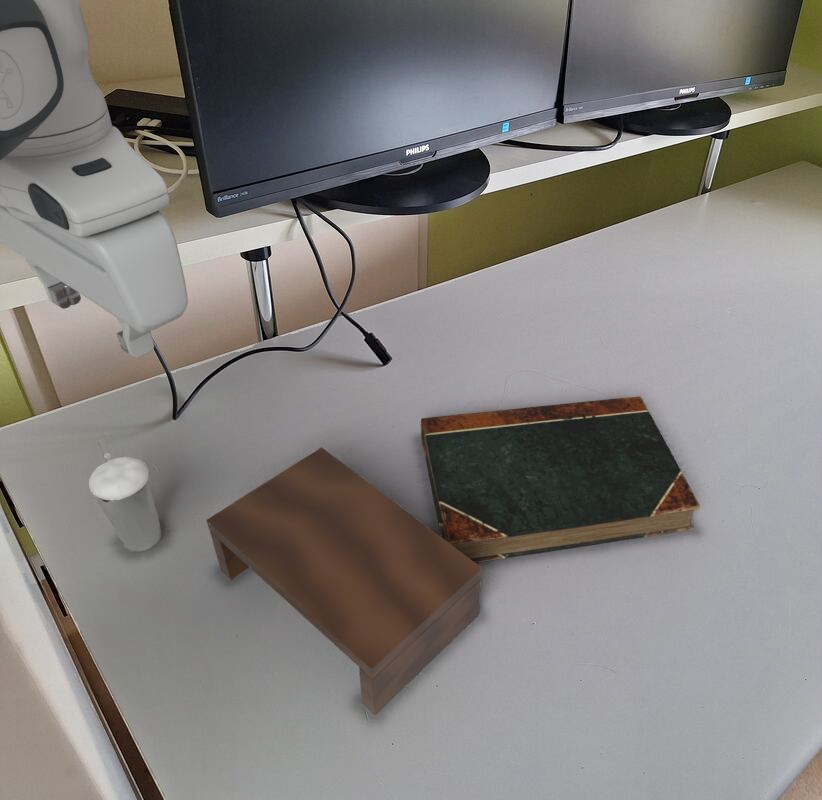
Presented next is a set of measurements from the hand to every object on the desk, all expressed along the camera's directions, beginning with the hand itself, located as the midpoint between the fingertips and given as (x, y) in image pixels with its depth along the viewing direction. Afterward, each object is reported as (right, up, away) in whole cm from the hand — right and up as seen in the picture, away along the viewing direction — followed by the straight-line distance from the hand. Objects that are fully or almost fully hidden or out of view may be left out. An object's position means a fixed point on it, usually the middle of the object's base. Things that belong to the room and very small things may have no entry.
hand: (101, 326), depth 59 cm
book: (+35, -15, +20) cm, 43 cm away
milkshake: (-2, -18, +10) cm, 21 cm away
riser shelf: (+17, -23, +8) cm, 30 cm away
